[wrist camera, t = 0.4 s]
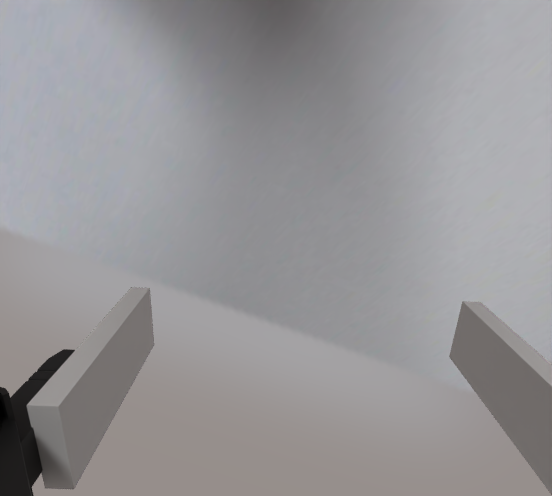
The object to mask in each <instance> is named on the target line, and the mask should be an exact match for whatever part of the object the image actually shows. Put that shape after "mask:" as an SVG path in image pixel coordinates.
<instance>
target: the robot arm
mask: <svg viewBox="0 0 552 496" xmlns="http://www.w3.org/2000/svg"><path fill="white" fill-rule="evenodd" d="M153 346H154V337H153V324H152V311H151V298H150V288H136V287H131V288H130V289H129V291H128V292H127V293H126V294H125V295H124V296H123V297H122V298H121V300H120V301H119V302H118V303H117V304H116V305H115V307H113V308H112V310H111V311H110V312H109V313H108V314H107V315H106V316H105V317H104V319H103V320H102V321H101V322H100V323H99V324H98V325H97V327H96V328H95V329H94V330H93V331H92V332H91V333H90V334H89V335H88V337H87V338H86V339H85V340H84V341H83V342H82V343H81V345H80V346H79V347H78V348H77V349H76V350H62V351H60V352H59V353H57V354H55V355H54V356H52V357H50V358H49V359H48V360H47V361H46V362H45V363H44V364H43V365H42V366H41V367H40V368H39V369H38V371H37V372H35V373H34V374H33V375H32V376H31V377H30V378H29V380H28V381H26V382H25V383H24V384H23V385H22V386H21V387H20V388H19V389H18V391H16V393H15V394H14V395H13V396H12V397H11V398H10V396H9V393H8V391H7V390H6V389H5V388H2V387H0V496H33V492H32V485H33V484H34V482H35V481H36V480H37V478H38V477H39V475H40V473H41V472H42V477H43V481H44V485H45V488H55V489H74V488H75V487H76V485H77V483H78V481H79V479H80V477H81V476H82V474H83V472H84V470H85V468H86V467H87V465H88V463H89V461H90V459H91V458H92V455H93V454H94V452H95V450H96V449H97V447H98V445H99V443H100V441H101V440H102V438H103V436H104V434H105V432H106V430H107V428H108V427H109V425H110V423H111V421H112V419H113V418H114V416H115V414H116V412H117V411H118V409H119V407H120V405H121V404H122V402H123V400H124V398H125V396H126V394H127V393H128V391H129V389H130V387H131V386H132V384H133V382H134V380H135V378H136V376H137V374H138V373H139V371H140V369H141V367H142V365H143V364H144V362H145V360H146V358H147V357H148V355H149V353H150V351H151V349H152V348H153ZM449 357H450V358H451V360H452V361H453V362H454V364H455V365H456V366H457V368H458V369H459V371H460V372H461V373H462V375H463V376H464V377H465V379H466V380H467V381H468V383H469V384H470V385H471V387H472V388H473V389H474V391H475V392H476V393H477V395H478V396H479V397H480V399H481V400H482V401H483V403H484V404H485V406H486V407H487V408H488V409H489V411H490V412H491V414H492V415H493V416H494V418H495V419H496V420H497V422H498V423H499V424H500V426H501V427H502V429H503V430H504V431H505V432H506V434H507V435H508V437H509V438H510V439H511V441H512V442H513V443H514V445H515V446H516V447H517V449H518V450H519V451H520V453H521V454H522V455H523V457H524V458H525V460H526V461H527V462H528V464H529V465H530V466H531V468H532V469H533V470H534V472H535V473H536V474H537V476H538V477H539V478H540V480H541V481H542V482H543V484H544V485H545V486H546V488H547V489H548V491H549V492H550V493H551V495H552V364H551V363H550V362H549V361H547V360H546V359H545V358H544V357H543V356H542V355H541V354H539V353H538V352H537V351H536V350H535V349H534V348H533V347H531V346H530V345H529V344H528V343H527V342H526V341H525V340H523V339H522V338H521V337H520V336H519V335H518V334H516V333H515V332H514V331H513V330H512V329H511V328H510V327H508V326H507V325H506V324H505V323H504V322H503V321H502V320H500V319H499V318H498V317H497V316H496V315H495V314H494V313H492V312H491V311H490V310H489V309H488V308H487V307H486V306H484V305H483V304H482V303H481V302H465V301H463V302H462V306H461V310H460V314H459V318H458V323H457V327H456V331H455V335H454V339H453V343H452V348H451V352H450V356H449Z"/></svg>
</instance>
